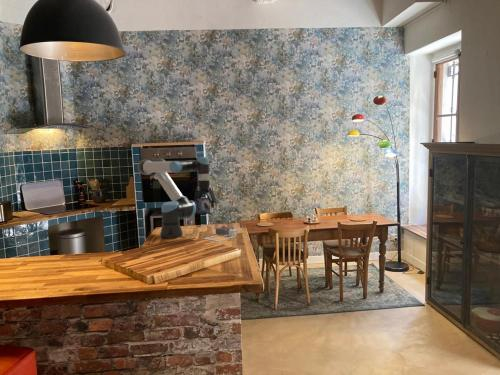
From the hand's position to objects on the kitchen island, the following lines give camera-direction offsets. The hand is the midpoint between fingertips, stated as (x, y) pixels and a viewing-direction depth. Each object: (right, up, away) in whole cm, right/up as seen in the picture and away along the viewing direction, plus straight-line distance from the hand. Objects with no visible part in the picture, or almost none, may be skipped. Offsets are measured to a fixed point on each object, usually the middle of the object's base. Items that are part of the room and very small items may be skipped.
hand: (205, 212), depth 277 cm
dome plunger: (+13, -14, +8) cm, 21 cm away
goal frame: (+10, -17, -6) cm, 21 cm away
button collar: (+13, -15, +8) cm, 22 cm away
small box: (0, -1, 0) cm, 1 cm away
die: (+19, -16, +1) cm, 25 cm away
